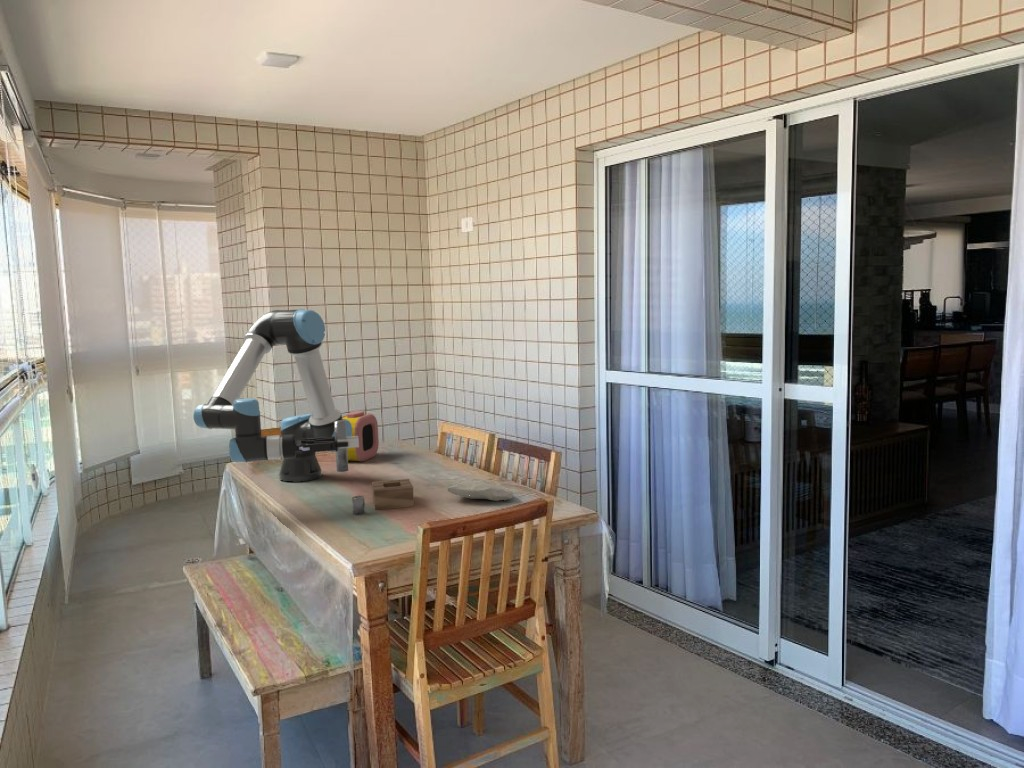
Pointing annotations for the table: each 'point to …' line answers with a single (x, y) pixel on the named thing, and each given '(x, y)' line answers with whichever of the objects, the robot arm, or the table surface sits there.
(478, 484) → the rock
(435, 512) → the table surface
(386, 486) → the collar block
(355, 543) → the table surface
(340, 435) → the tall peg
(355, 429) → the alarm clock
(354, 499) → the short peg
